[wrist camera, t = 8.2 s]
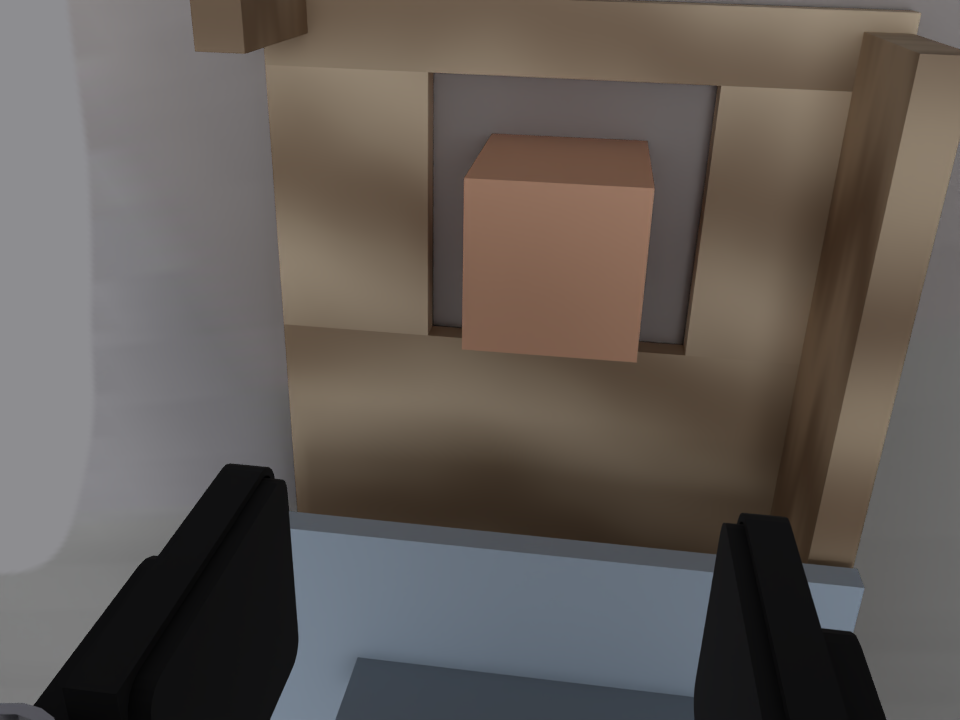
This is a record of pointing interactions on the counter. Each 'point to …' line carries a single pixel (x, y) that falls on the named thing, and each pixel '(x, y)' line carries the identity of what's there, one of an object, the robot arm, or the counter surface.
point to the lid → (502, 624)
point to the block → (556, 246)
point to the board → (660, 367)
